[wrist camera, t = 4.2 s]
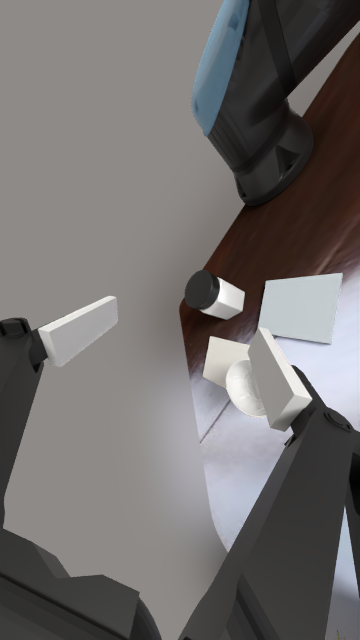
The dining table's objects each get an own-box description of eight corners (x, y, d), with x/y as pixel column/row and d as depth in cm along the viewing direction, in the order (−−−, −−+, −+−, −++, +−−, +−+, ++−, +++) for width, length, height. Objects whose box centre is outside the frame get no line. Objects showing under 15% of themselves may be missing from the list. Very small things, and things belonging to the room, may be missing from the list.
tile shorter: (212, 336, 41) (210, 336, 41) (251, 345, 32) (249, 345, 32) (204, 376, 41) (202, 376, 40) (242, 396, 32) (240, 397, 32)
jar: (211, 308, 43) (178, 297, 36) (226, 282, 41) (195, 264, 33) (232, 325, 37) (198, 315, 30) (253, 296, 34) (220, 277, 27)
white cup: (309, 373, 24) (289, 376, 18) (291, 416, 25) (266, 433, 19) (261, 352, 31) (234, 350, 25) (248, 387, 31) (219, 393, 25)
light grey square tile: (267, 282, 32) (266, 281, 32) (342, 274, 23) (342, 272, 23) (258, 332, 32) (256, 332, 31) (331, 344, 23) (330, 343, 23)
